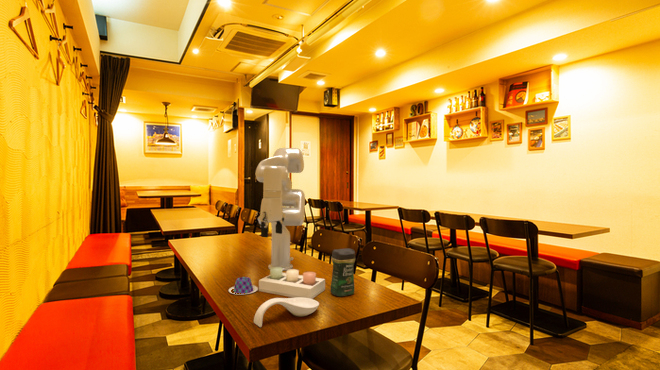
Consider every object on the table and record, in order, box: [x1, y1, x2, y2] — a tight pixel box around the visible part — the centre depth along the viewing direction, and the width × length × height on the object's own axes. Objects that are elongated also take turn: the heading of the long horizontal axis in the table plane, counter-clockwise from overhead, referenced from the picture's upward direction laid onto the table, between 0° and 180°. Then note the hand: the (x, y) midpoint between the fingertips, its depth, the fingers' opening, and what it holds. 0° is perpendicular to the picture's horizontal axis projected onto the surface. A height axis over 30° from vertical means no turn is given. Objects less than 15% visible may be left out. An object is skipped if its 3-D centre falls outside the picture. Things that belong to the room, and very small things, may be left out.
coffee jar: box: [330, 247, 356, 297], centre depth 139 cm, size 10×8×19 cm
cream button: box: [285, 268, 300, 283], centre depth 142 cm, size 5×5×5 cm
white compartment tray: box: [258, 272, 326, 300], centre depth 142 cm, size 14×24×4 cm, turn 67°
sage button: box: [269, 267, 283, 280], centre depth 145 cm, size 5×5×5 cm
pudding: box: [228, 276, 259, 295], centre depth 141 cm, size 12×12×5 cm
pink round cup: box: [302, 271, 317, 286], centre depth 139 cm, size 5×5×5 cm
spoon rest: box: [253, 297, 320, 328], centre depth 116 cm, size 24×12×7 cm, turn 130°
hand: (271, 235), depth 144 cm, fingers open, 9 cm apart
